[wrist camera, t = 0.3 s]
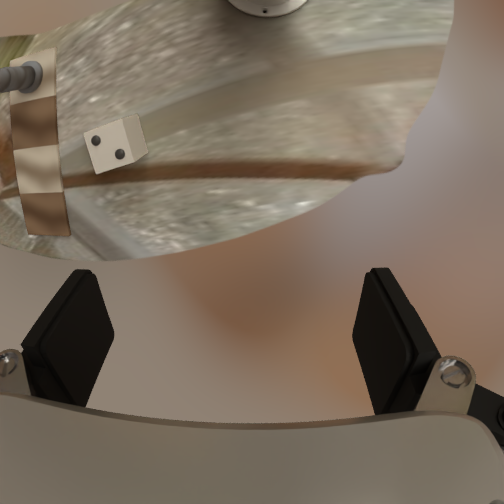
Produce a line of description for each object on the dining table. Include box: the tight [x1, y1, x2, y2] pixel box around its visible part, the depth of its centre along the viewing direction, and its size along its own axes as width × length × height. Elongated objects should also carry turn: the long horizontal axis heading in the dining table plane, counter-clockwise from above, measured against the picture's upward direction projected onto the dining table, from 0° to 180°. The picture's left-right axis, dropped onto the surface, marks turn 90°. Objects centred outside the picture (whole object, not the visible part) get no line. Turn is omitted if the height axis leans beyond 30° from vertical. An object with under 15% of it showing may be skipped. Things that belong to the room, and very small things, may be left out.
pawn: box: [0, 61, 43, 94], centre depth 31 cm, size 5×5×9 cm
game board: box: [10, 47, 71, 236], centre depth 41 cm, size 32×10×1 cm, turn 177°
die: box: [83, 114, 148, 174], centre depth 39 cm, size 6×6×6 cm
